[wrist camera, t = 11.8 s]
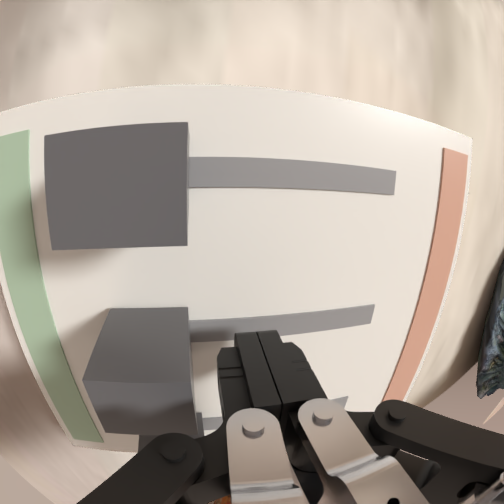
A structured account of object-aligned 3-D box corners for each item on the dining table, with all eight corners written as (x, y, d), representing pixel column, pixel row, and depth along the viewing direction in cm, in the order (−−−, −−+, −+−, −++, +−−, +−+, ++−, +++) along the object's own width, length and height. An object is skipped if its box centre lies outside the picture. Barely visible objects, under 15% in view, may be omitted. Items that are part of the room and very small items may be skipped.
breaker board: (440, 136, 13) (473, 138, 11) (384, 388, 19) (401, 410, 17) (15, 119, 9) (-16, 116, 7) (80, 418, 15) (72, 446, 12)
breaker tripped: (188, 306, 11) (191, 382, 7) (192, 357, 11) (198, 434, 8) (110, 308, 10) (81, 379, 6) (121, 358, 11) (105, 432, 7)
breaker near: (189, 135, 9) (187, 121, 5) (188, 208, 9) (187, 246, 6) (99, 140, 8) (44, 135, 4) (101, 212, 9) (51, 250, 5)
